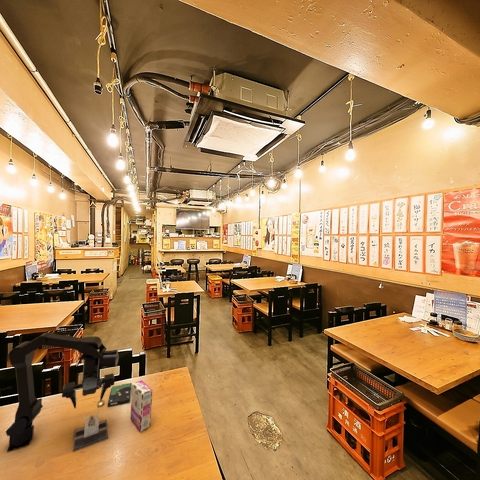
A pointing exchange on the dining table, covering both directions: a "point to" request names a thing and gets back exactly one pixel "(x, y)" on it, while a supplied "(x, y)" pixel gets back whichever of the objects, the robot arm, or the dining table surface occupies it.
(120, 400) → the disk drive
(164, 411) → the dining table surface
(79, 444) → the stand
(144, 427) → the candy bar box
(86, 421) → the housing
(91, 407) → the dining table surface
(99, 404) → the brass bushing
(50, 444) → the dining table surface
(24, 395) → the robot arm
